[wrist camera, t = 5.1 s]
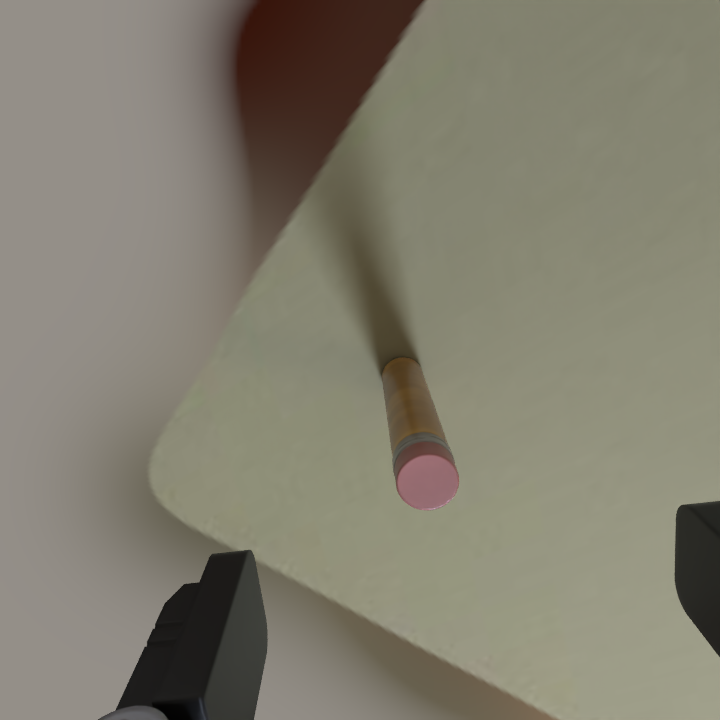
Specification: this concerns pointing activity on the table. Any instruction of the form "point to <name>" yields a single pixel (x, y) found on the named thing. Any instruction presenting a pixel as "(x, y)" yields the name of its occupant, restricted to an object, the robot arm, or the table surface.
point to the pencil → (417, 438)
